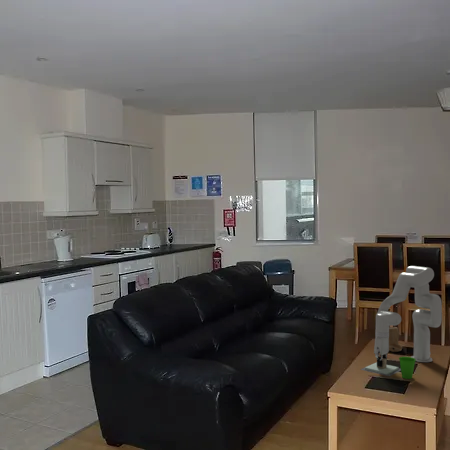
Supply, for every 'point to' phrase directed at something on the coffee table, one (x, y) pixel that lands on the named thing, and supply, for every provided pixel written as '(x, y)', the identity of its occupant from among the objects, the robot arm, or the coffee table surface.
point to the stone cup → (394, 339)
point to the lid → (384, 369)
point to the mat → (381, 373)
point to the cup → (407, 367)
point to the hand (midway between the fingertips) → (381, 365)
